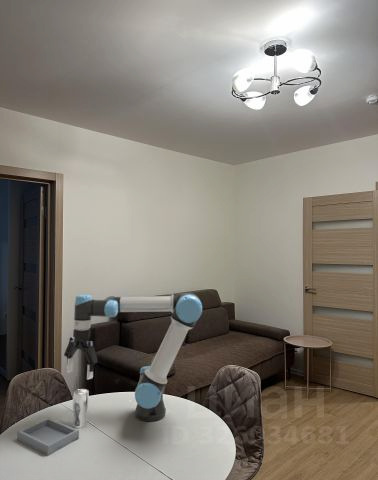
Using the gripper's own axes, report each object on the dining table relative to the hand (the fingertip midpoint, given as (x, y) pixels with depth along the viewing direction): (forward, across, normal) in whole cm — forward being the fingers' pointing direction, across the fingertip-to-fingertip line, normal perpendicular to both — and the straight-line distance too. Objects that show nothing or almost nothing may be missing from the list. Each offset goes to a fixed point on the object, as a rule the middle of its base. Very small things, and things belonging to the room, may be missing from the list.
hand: (79, 375), depth 158 cm
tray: (+23, 0, -15) cm, 27 cm away
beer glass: (+23, 0, +1) cm, 23 cm away
